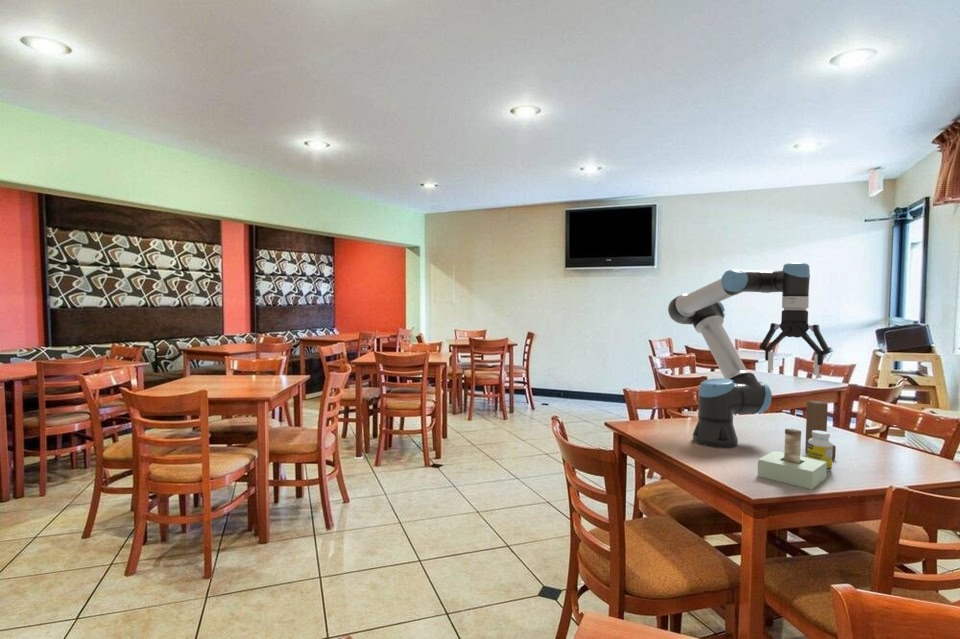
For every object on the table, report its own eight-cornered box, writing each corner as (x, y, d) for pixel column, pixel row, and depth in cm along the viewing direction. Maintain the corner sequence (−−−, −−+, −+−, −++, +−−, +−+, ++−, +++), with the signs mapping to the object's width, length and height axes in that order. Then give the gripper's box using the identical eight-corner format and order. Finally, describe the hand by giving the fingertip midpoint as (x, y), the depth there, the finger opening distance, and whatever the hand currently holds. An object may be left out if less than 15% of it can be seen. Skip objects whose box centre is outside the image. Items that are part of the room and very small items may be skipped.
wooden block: (835, 459, 166) (837, 406, 165) (822, 459, 166) (824, 405, 165) (817, 451, 175) (819, 400, 174) (804, 451, 175) (806, 400, 174)
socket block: (757, 475, 148) (758, 459, 148) (773, 466, 158) (774, 450, 157) (812, 489, 138) (812, 471, 138) (826, 478, 147) (826, 461, 147)
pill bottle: (802, 465, 159) (803, 429, 159) (822, 465, 159) (824, 429, 159) (815, 471, 153) (816, 434, 153) (836, 472, 153) (838, 435, 152)
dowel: (781, 476, 148) (783, 430, 147) (785, 473, 151) (787, 428, 150) (797, 480, 145) (798, 433, 144) (801, 477, 147) (803, 430, 147)
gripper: (750, 308, 173) (748, 369, 173) (836, 310, 154) (833, 378, 155) (758, 308, 178) (756, 367, 178) (842, 310, 159) (840, 376, 160)
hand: (792, 372), depth 167 cm, fingers open, 13 cm apart
